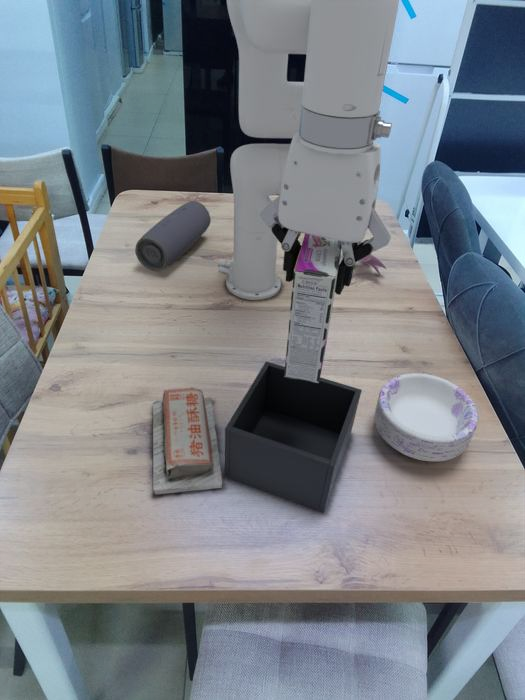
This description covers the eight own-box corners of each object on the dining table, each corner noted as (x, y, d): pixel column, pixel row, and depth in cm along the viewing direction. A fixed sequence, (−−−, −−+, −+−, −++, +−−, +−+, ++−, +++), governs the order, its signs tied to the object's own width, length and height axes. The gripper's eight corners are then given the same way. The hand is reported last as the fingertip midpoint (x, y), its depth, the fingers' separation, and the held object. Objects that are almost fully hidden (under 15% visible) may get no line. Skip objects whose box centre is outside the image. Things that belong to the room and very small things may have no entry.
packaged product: (150, 386, 83) (211, 381, 84) (152, 406, 86) (211, 402, 87) (150, 476, 69) (223, 469, 71) (153, 497, 72) (222, 489, 74)
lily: (381, 294, 118) (402, 257, 115) (337, 274, 116) (358, 235, 113) (367, 282, 129) (386, 248, 127) (327, 263, 127) (345, 228, 124)
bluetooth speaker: (181, 231, 136) (179, 195, 129) (212, 238, 133) (212, 202, 127) (135, 270, 119) (130, 231, 113) (170, 280, 117) (167, 240, 110)
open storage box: (224, 476, 76) (224, 428, 69) (262, 407, 87) (266, 360, 80) (324, 512, 72) (334, 466, 65) (350, 435, 83) (361, 389, 76)
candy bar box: (293, 328, 74) (306, 224, 63) (327, 333, 73) (346, 229, 63) (280, 378, 65) (292, 268, 55) (319, 385, 65) (338, 275, 54)
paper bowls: (364, 401, 89) (373, 368, 84) (450, 406, 90) (463, 373, 84) (377, 472, 78) (388, 438, 73) (475, 477, 78) (493, 444, 73)
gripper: (429, 131, 51) (390, 284, 62) (270, 106, 55) (261, 253, 67) (418, 153, 45) (379, 316, 57) (243, 123, 50) (239, 280, 61)
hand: (315, 281), depth 62 cm, fingers closed on candy bar box, 5 cm apart
